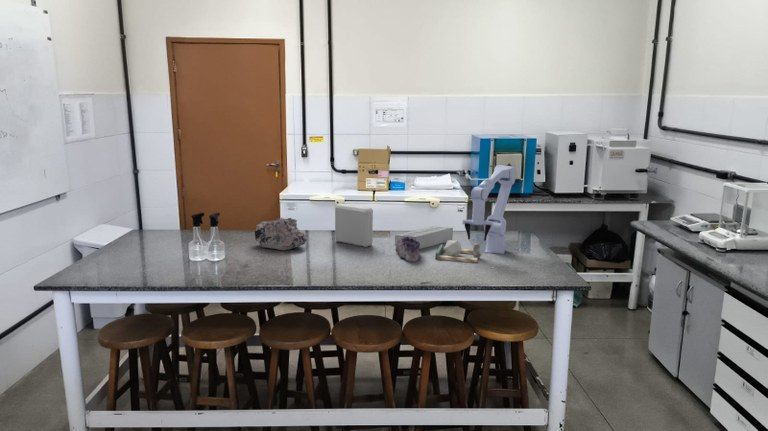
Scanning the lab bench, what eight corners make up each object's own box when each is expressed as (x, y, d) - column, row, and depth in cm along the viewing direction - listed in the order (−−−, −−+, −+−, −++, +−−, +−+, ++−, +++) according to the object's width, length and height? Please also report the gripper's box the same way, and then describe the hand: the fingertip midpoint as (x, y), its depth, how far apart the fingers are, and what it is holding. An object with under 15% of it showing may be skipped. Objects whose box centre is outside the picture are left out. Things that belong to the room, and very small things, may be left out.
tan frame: (480, 253, 280) (481, 240, 278) (477, 262, 264) (478, 249, 263) (440, 250, 285) (440, 237, 283) (435, 259, 269) (435, 245, 268)
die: (456, 261, 269) (466, 244, 271) (441, 251, 270) (451, 234, 271) (454, 262, 277) (464, 245, 279) (439, 253, 278) (449, 236, 279)
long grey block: (432, 236, 315) (432, 223, 313) (452, 241, 305) (452, 227, 303) (395, 245, 294) (395, 231, 292) (415, 251, 284) (415, 236, 282)
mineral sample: (310, 217, 293) (300, 210, 279) (311, 252, 288) (300, 247, 274) (262, 223, 298) (250, 216, 284) (262, 257, 293) (250, 252, 279)
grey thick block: (375, 244, 293) (375, 207, 289) (366, 248, 286) (366, 210, 282) (342, 238, 304) (342, 202, 300) (333, 241, 297) (333, 205, 293)
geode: (428, 262, 265) (426, 242, 262) (404, 266, 263) (402, 246, 260) (416, 249, 284) (415, 230, 281) (394, 253, 282) (392, 234, 279)
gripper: (462, 212, 265) (461, 240, 268) (493, 214, 262) (491, 242, 265) (464, 209, 272) (462, 236, 275) (494, 211, 269) (492, 239, 272)
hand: (477, 239), depth 270 cm, fingers open, 7 cm apart
